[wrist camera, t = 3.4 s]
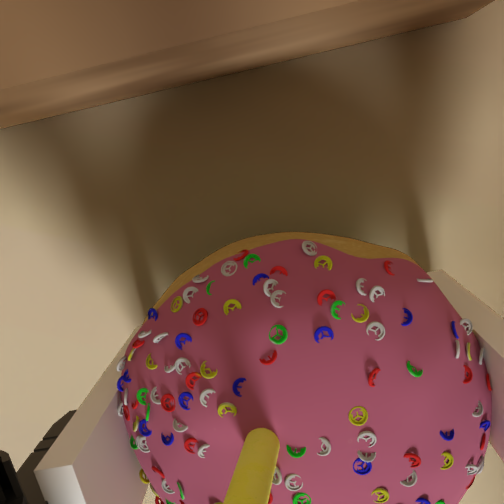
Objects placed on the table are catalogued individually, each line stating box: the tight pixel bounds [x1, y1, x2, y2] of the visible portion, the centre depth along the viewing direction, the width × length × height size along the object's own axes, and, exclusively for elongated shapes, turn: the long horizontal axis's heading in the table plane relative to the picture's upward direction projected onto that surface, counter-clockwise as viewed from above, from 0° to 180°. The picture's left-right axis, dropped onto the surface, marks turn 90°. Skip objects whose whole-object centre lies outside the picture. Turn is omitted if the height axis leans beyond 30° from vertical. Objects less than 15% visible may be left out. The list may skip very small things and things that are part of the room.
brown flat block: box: [0, 0, 494, 129], centre depth 11 cm, size 15×2×5 cm, turn 102°
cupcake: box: [116, 232, 492, 504], centre depth 9 cm, size 9×8×12 cm
